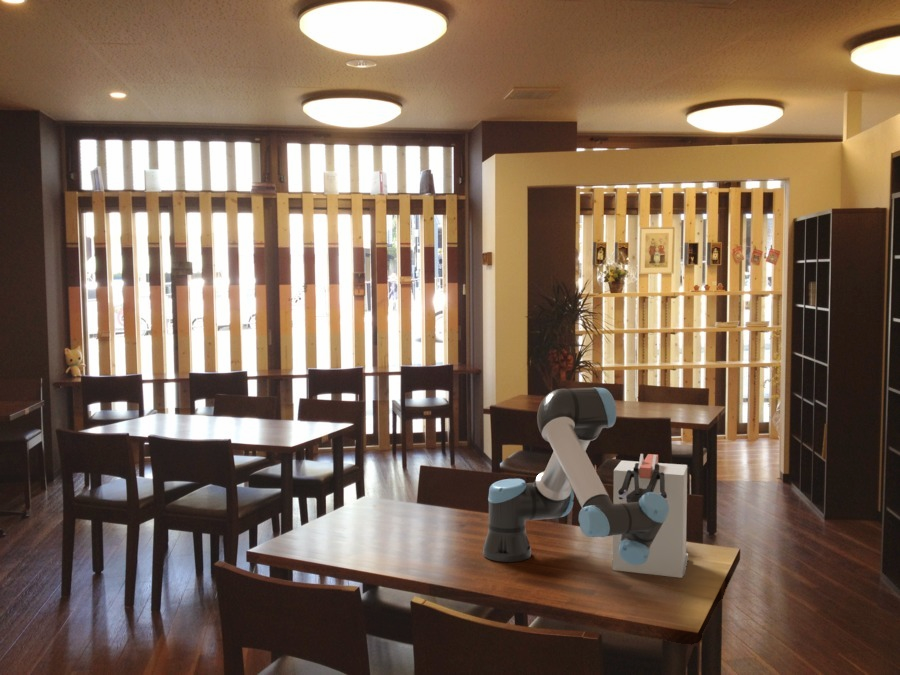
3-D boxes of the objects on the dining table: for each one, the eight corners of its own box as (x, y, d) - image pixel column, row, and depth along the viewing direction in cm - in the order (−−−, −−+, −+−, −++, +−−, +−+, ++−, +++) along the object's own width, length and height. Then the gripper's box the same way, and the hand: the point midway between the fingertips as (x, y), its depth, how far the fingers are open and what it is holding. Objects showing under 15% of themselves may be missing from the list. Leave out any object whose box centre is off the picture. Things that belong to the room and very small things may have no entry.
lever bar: (650, 478, 225) (650, 468, 225) (639, 478, 226) (639, 467, 226) (658, 464, 246) (658, 454, 246) (648, 463, 247) (648, 454, 247)
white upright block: (684, 578, 232) (685, 475, 231) (610, 569, 239) (611, 470, 238) (688, 559, 249) (689, 463, 248) (619, 552, 256) (620, 459, 255)
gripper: (610, 521, 220) (621, 465, 239) (670, 527, 215) (677, 469, 233) (608, 501, 216) (619, 446, 235) (670, 506, 211) (676, 449, 229)
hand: (648, 458), depth 234 cm, fingers closed on lever bar, 3 cm apart
